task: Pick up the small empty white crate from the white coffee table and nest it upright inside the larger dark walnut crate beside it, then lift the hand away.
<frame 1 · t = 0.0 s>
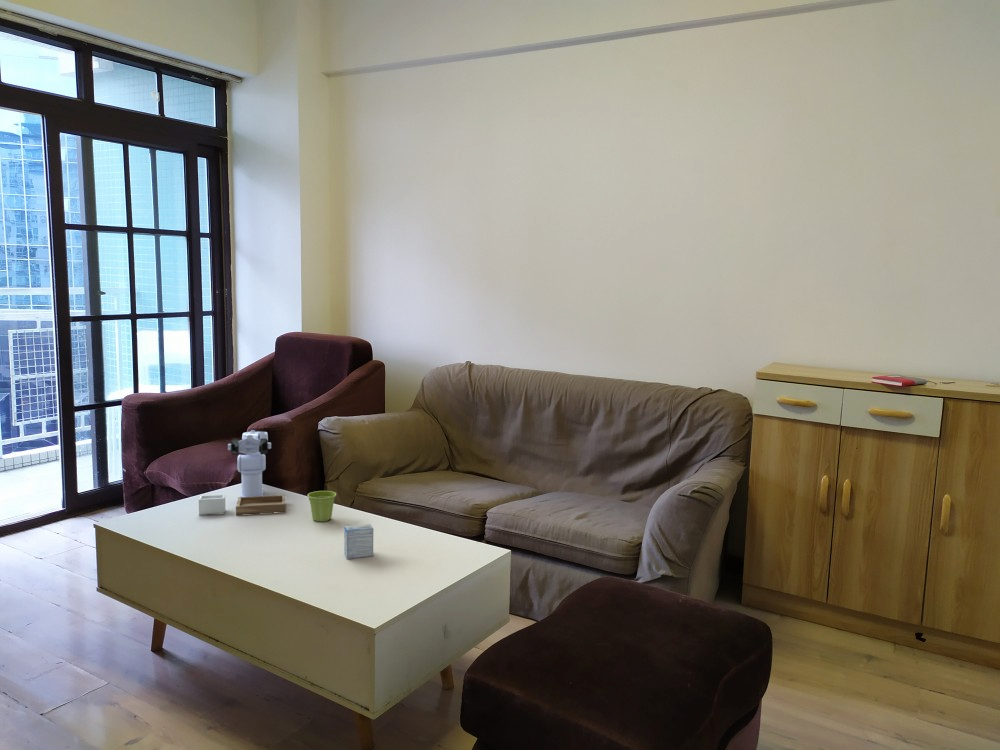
hand: (248, 449, 253), 22 cm above the table, tool horizontal, fingers open, 7 cm apart
plant pot: (322, 519, 248), on the table
white crate: (212, 512, 253), on the table
walnut crate: (261, 509, 258), on the table
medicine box: (358, 556, 215), on the table
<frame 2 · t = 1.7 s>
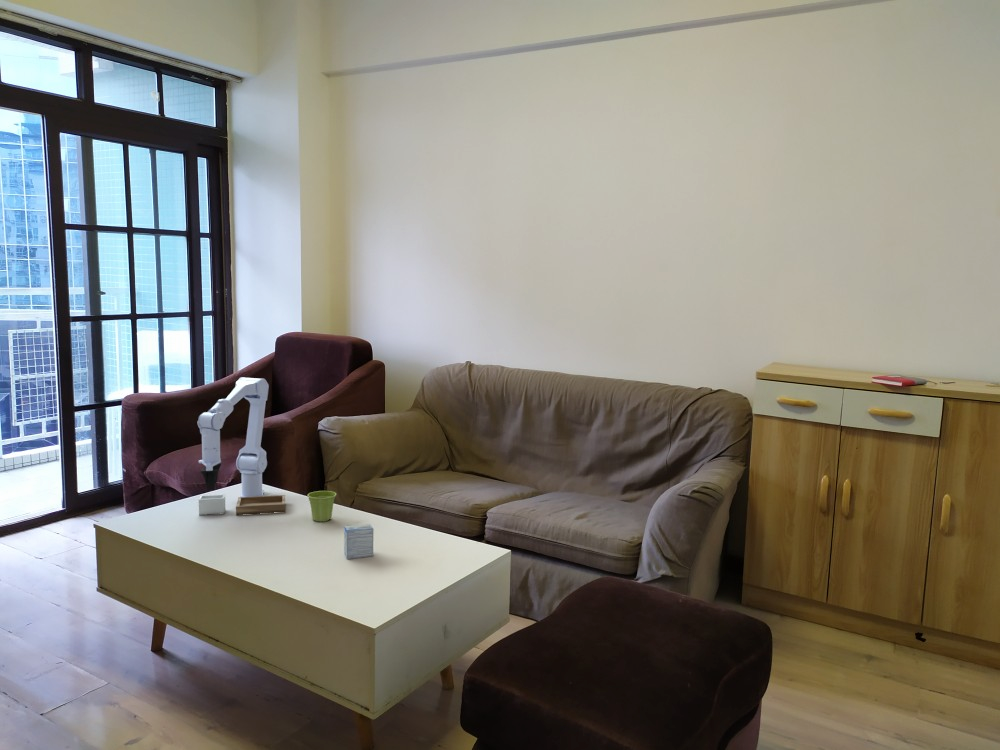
hand: (211, 486, 252), 9 cm above the table, tool pointing down, fingers open, 7 cm apart
nothing on the table moved.
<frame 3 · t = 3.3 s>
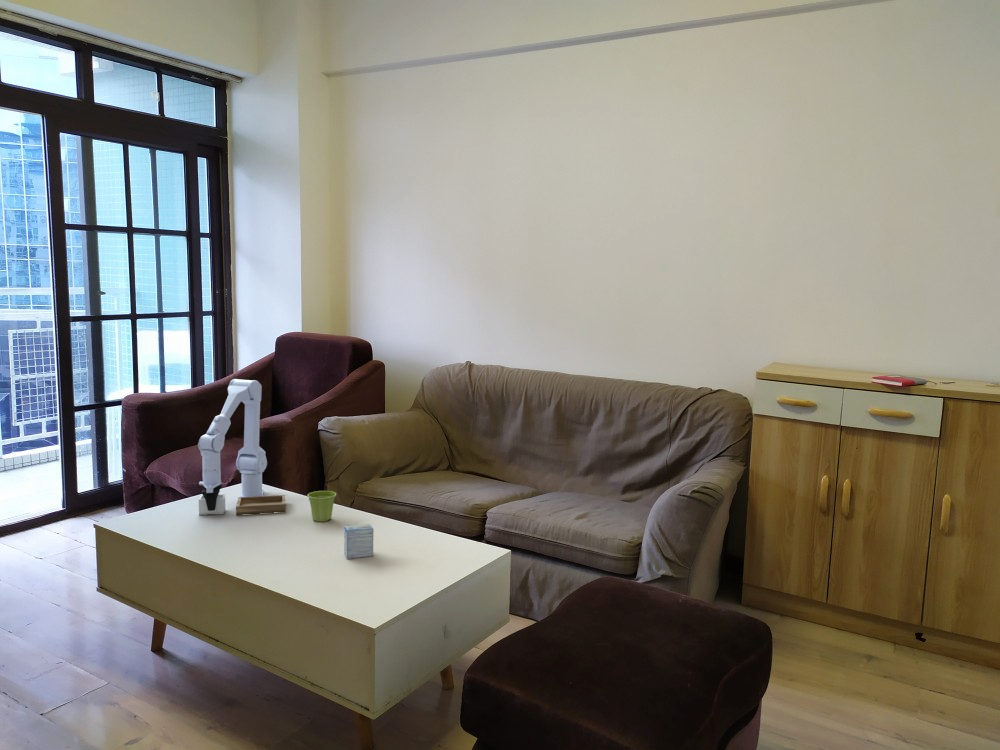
hand: (212, 507, 253), 2 cm above the table, tool pointing down, fingers closed on white crate, 5 cm apart
white crate: (212, 512, 253), on the table, touching gripper
everything else where it was.
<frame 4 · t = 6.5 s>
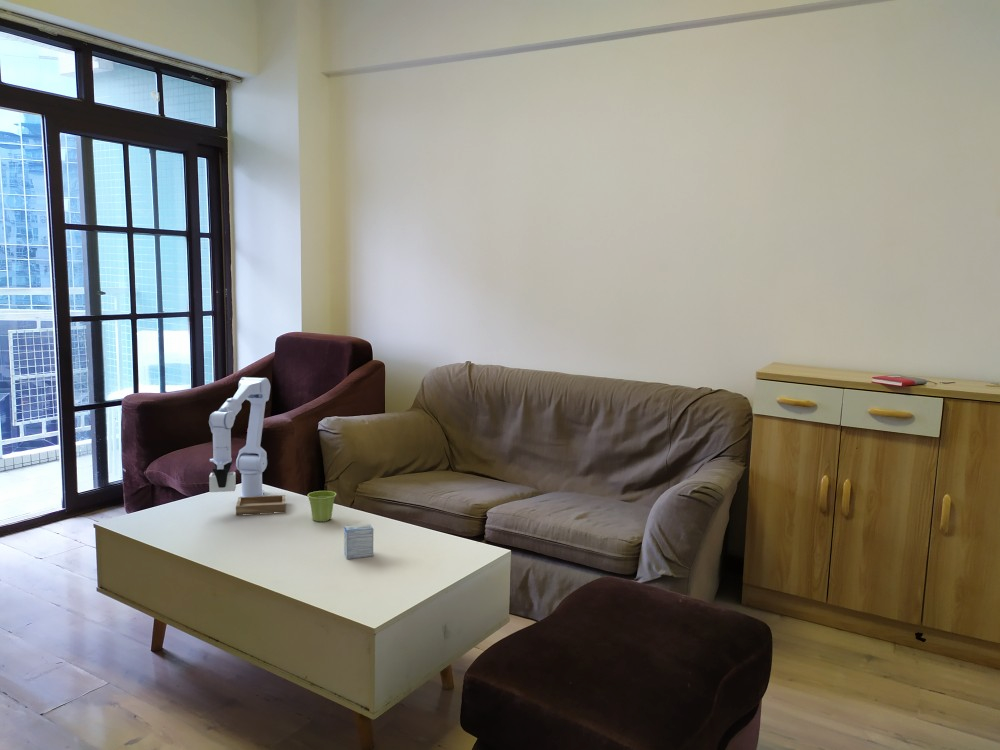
hand: (222, 485, 253), 9 cm above the table, tool pointing down, fingers closed on white crate, 5 cm apart
white crate: (222, 489, 253), point 8 cm above the table, touching gripper
everything else where it was.
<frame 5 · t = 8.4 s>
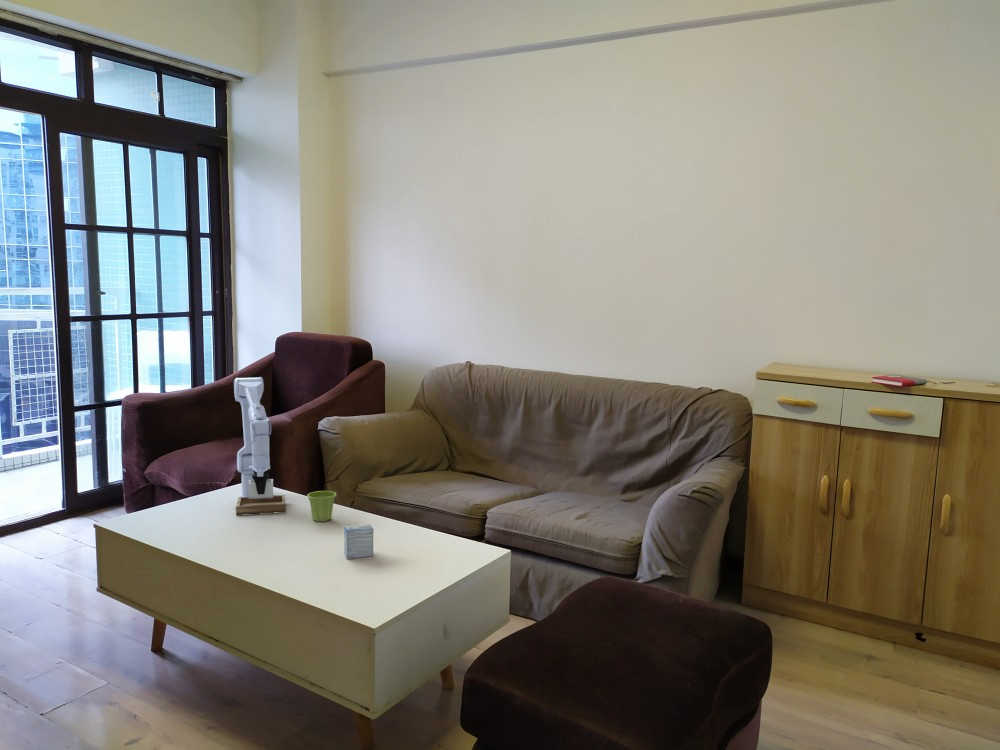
hand: (261, 492, 257), 6 cm above the table, tool pointing down, fingers closed on white crate, 5 cm apart
white crate: (261, 496, 257), point 4 cm above the table, touching gripper
everything else where it was.
when the fingers open (4 cm above the table, at t = 9.9 s): white crate stays where it is, resting on walnut crate.
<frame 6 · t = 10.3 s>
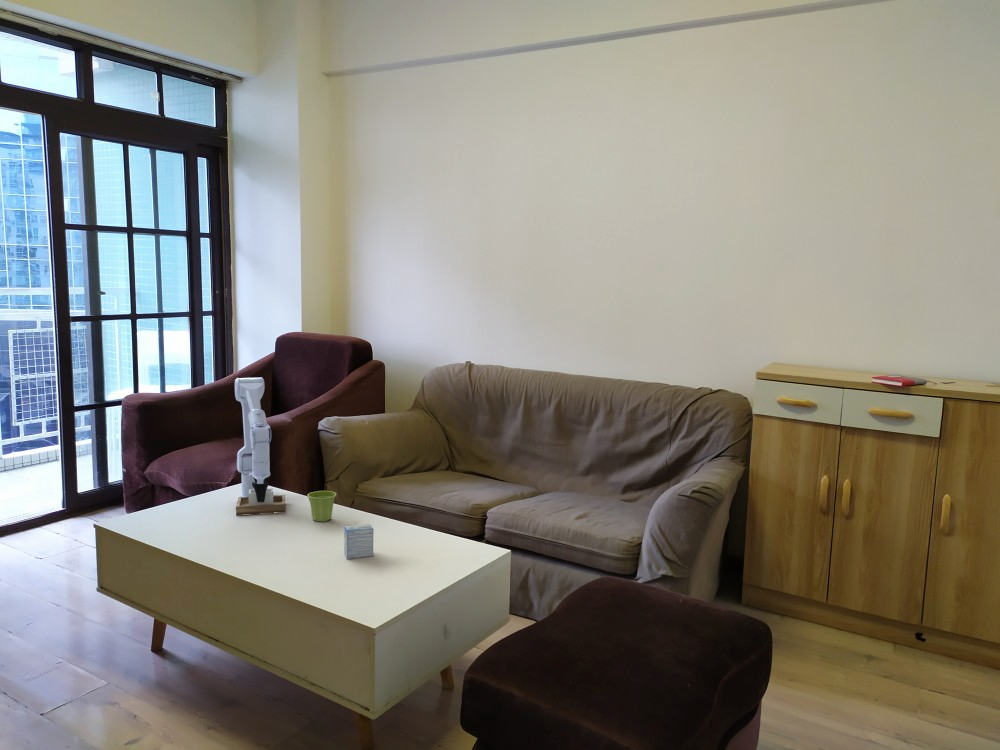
hand: (261, 499, 258), 4 cm above the table, tool pointing down, fingers open, 7 cm apart
white crate: (261, 506, 258), point 1 cm above the table, touching walnut crate
everything else where it was.
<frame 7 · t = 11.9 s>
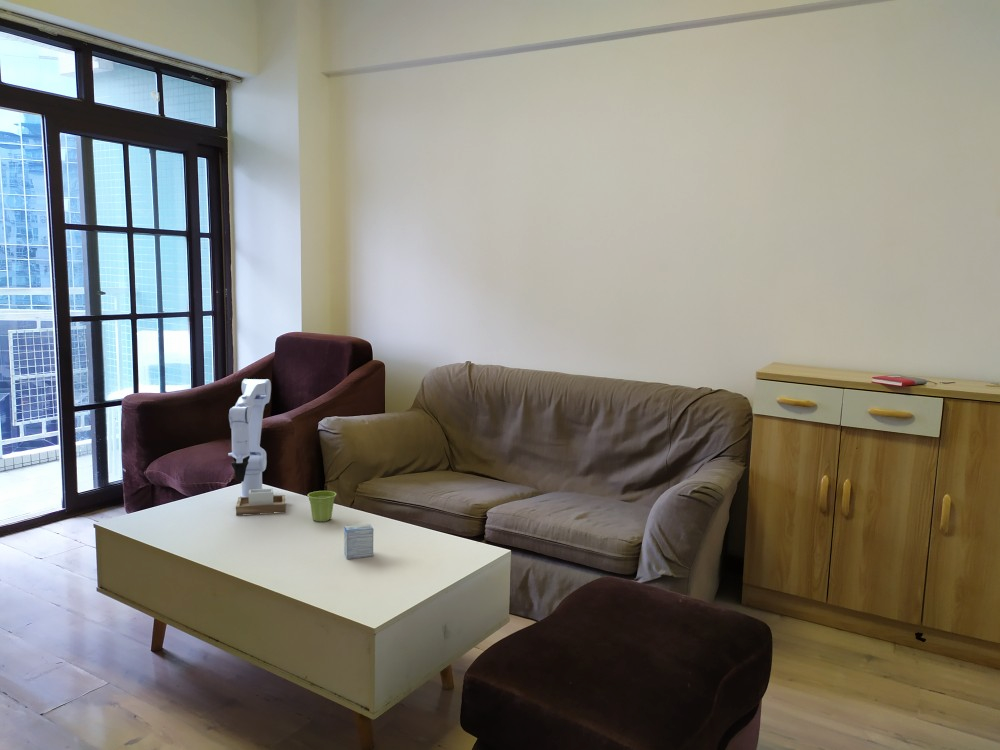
hand: (240, 478, 258), 10 cm above the table, tool pointing down, fingers open, 7 cm apart
nothing on the table moved.
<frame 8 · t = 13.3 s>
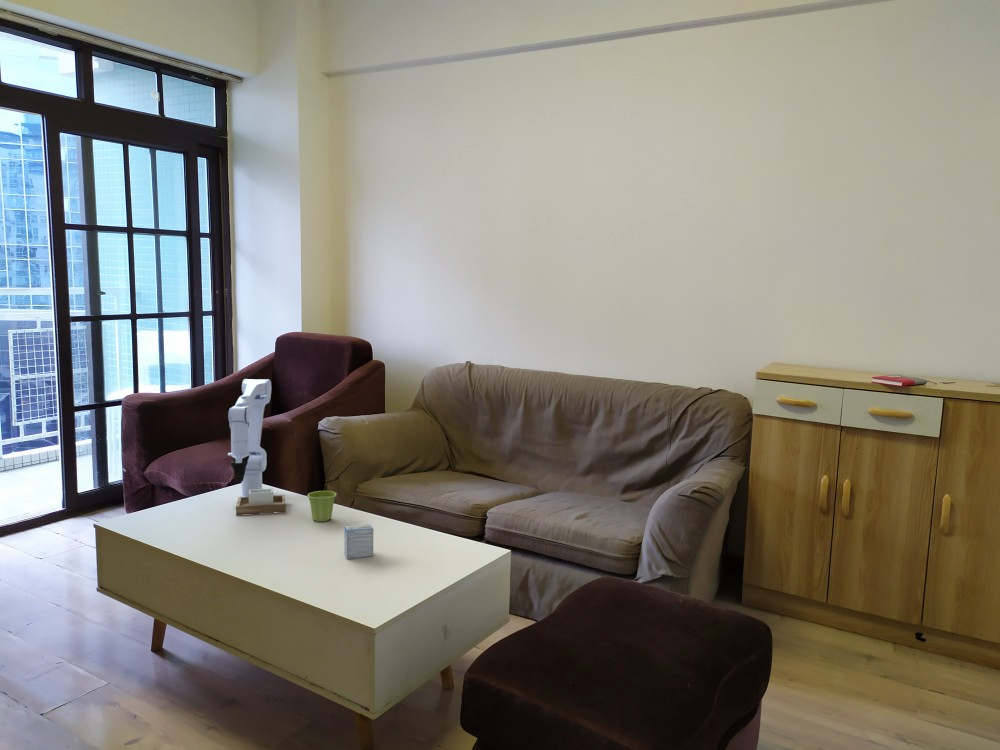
hand: (240, 478, 258), 10 cm above the table, tool pointing down, fingers open, 7 cm apart
nothing on the table moved.
at the end: white crate 0.1 cm off-centre on the walnut crate, point 1.0 cm above the walnut crate's base; white crate tilted 0°; the gripper is holding nothing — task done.
